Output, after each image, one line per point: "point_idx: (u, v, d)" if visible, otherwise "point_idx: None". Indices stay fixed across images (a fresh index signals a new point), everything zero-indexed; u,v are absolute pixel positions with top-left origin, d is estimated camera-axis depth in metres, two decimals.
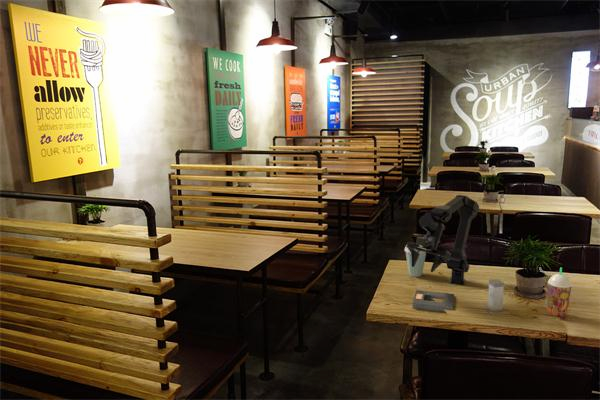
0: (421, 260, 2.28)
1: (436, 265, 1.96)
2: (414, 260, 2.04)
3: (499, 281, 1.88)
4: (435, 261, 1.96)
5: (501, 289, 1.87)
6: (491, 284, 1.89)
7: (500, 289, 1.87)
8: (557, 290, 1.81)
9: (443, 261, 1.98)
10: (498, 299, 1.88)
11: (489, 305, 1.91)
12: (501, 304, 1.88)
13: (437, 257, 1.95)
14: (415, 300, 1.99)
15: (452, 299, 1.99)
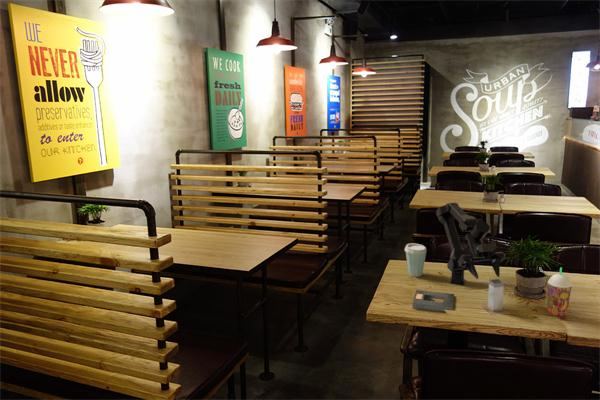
0: (421, 260, 2.28)
1: None
2: None
3: (499, 281, 1.88)
4: (498, 265, 1.97)
5: (501, 289, 1.87)
6: (491, 284, 1.89)
7: (500, 289, 1.87)
8: (557, 290, 1.81)
9: None
10: (498, 299, 1.88)
11: (489, 305, 1.91)
12: (501, 304, 1.88)
13: (499, 260, 1.97)
14: (415, 300, 1.99)
15: (452, 299, 1.99)
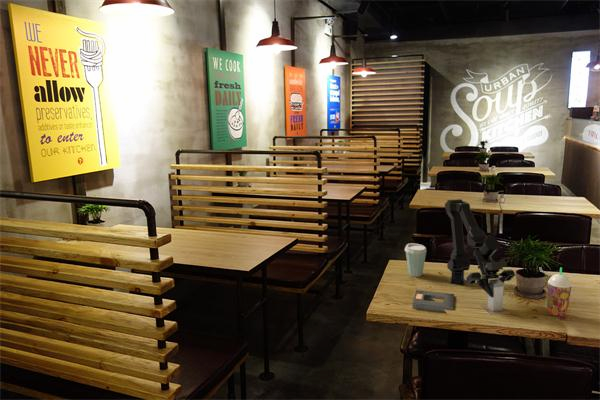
0: (421, 260, 2.28)
1: None
2: None
3: (499, 281, 1.88)
4: None
5: (501, 289, 1.87)
6: (491, 284, 1.89)
7: (500, 289, 1.87)
8: (557, 290, 1.81)
9: None
10: (498, 299, 1.88)
11: (489, 305, 1.91)
12: (501, 304, 1.88)
13: (504, 279, 1.90)
14: (415, 300, 1.99)
15: (452, 299, 1.99)
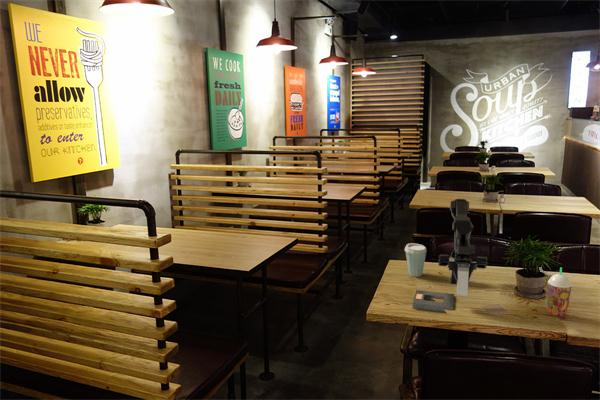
0: (421, 260, 2.28)
1: (471, 273, 1.91)
2: None
3: (466, 266, 1.89)
4: (470, 269, 1.90)
5: (466, 274, 1.88)
6: None
7: (464, 273, 1.89)
8: (557, 290, 1.81)
9: None
10: (463, 283, 1.90)
11: None
12: (466, 289, 1.90)
13: (473, 264, 1.90)
14: (415, 300, 1.99)
15: (452, 299, 1.99)
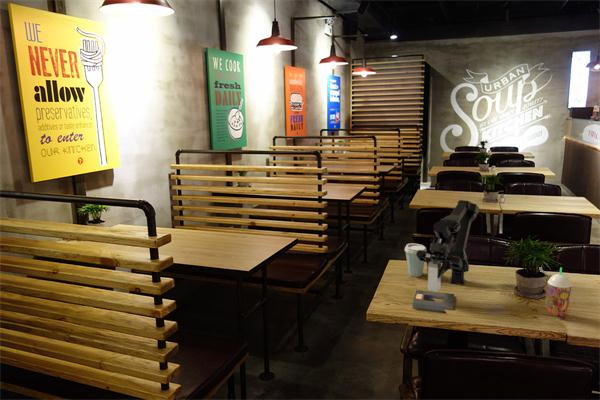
0: None
1: (443, 271, 1.97)
2: None
3: (436, 263, 1.96)
4: (442, 267, 1.96)
5: (435, 270, 1.95)
6: None
7: (434, 269, 1.96)
8: (557, 290, 1.81)
9: (449, 268, 1.99)
10: (432, 279, 1.97)
11: None
12: (436, 285, 1.96)
13: (445, 262, 1.96)
14: (415, 300, 1.99)
15: (452, 299, 1.99)
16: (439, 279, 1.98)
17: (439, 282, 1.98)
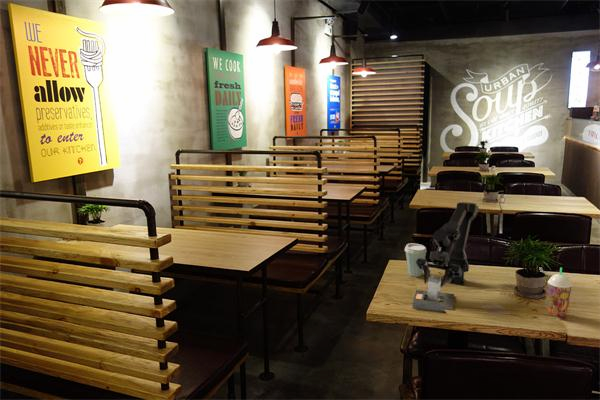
0: None
1: (445, 280, 1.97)
2: (426, 276, 2.01)
3: (436, 278, 1.97)
4: (445, 276, 1.96)
5: (435, 285, 1.97)
6: None
7: (433, 284, 1.97)
8: (557, 290, 1.81)
9: (451, 277, 1.99)
10: (432, 294, 1.98)
11: None
12: (435, 300, 1.98)
13: (448, 271, 1.96)
14: (415, 300, 1.99)
15: (452, 299, 1.99)
16: (439, 294, 1.99)
17: (439, 297, 2.00)
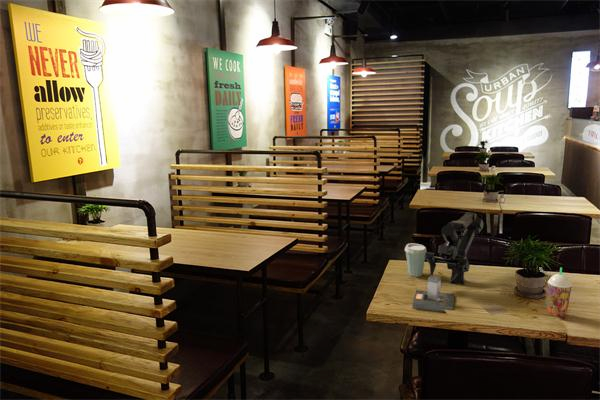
0: (421, 260, 2.28)
1: (456, 274, 2.03)
2: (432, 269, 2.09)
3: (436, 278, 1.97)
4: (456, 269, 2.03)
5: (435, 285, 1.97)
6: None
7: (433, 285, 1.97)
8: (557, 290, 1.81)
9: (462, 271, 2.05)
10: (432, 294, 1.98)
11: None
12: (435, 300, 1.98)
13: (458, 265, 2.02)
14: (415, 300, 1.99)
15: (452, 299, 1.99)
16: (438, 294, 1.99)
17: (439, 297, 2.00)
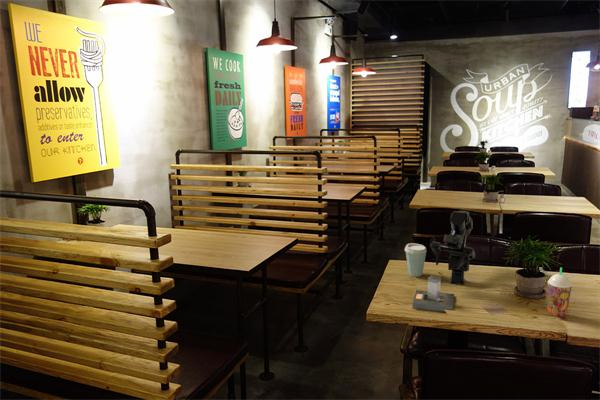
0: (421, 260, 2.28)
1: (462, 262, 2.03)
2: (438, 258, 2.09)
3: (436, 278, 1.97)
4: (461, 258, 2.03)
5: (435, 285, 1.97)
6: None
7: (433, 285, 1.97)
8: (557, 290, 1.81)
9: (467, 260, 2.05)
10: (432, 294, 1.98)
11: None
12: (435, 300, 1.98)
13: (464, 254, 2.02)
14: (415, 300, 1.99)
15: (452, 299, 1.99)
16: (438, 294, 1.99)
17: (439, 297, 2.00)
